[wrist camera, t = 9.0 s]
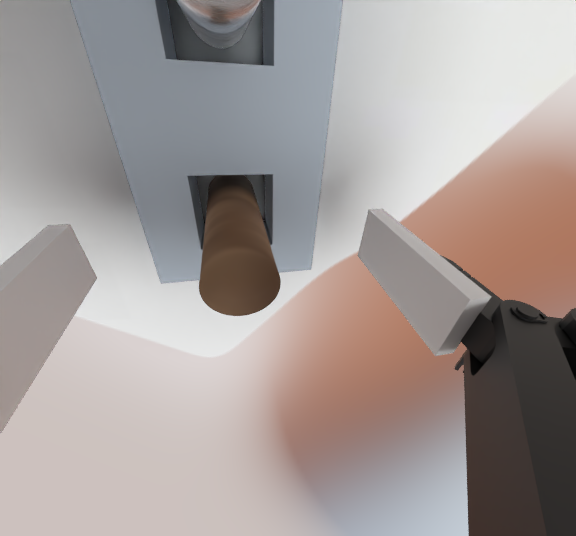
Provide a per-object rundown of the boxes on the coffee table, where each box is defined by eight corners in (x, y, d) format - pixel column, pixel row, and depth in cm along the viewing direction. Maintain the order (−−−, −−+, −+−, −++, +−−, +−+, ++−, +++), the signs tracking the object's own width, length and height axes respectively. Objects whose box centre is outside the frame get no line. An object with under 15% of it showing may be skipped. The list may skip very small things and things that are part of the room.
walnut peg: (212, 215, 18) (206, 320, 10) (205, 172, 16) (191, 258, 8) (254, 212, 19) (280, 310, 11) (252, 169, 17) (280, 249, 9)
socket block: (46, -198, 9) (-36, -329, 6) (329, -135, 10) (367, -210, 8) (169, 254, 19) (161, 283, 16) (299, 244, 21) (311, 269, 18)
